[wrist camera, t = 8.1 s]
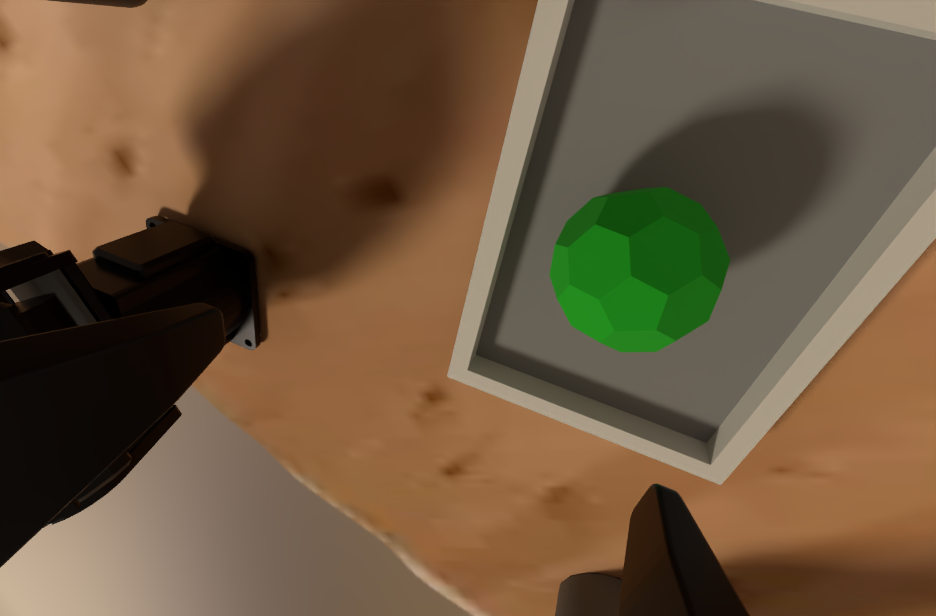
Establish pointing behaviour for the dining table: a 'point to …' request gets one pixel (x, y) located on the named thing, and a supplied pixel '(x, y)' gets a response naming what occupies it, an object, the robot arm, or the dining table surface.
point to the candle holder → (589, 596)
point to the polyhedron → (639, 268)
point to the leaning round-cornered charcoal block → (109, 2)
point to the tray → (707, 204)
